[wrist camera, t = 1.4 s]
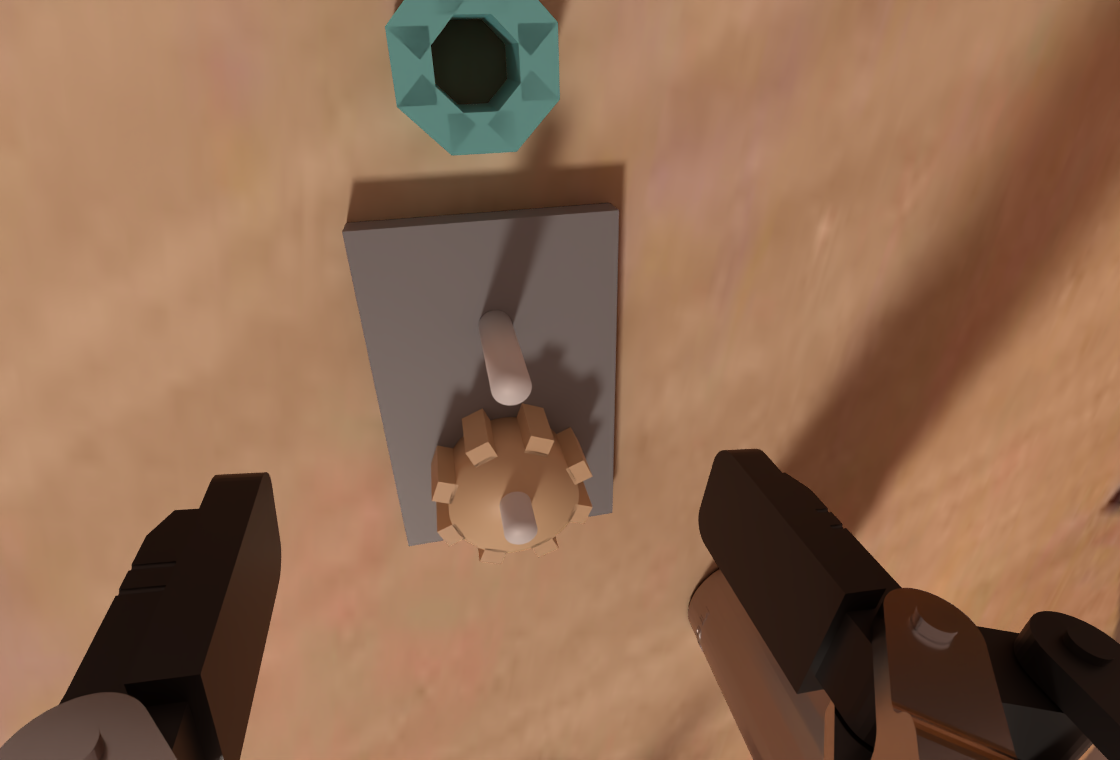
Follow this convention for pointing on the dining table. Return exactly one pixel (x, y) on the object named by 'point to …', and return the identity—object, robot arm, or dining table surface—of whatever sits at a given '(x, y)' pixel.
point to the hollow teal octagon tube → (519, 101)
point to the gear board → (448, 351)
